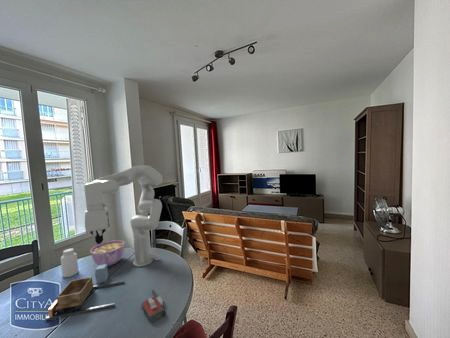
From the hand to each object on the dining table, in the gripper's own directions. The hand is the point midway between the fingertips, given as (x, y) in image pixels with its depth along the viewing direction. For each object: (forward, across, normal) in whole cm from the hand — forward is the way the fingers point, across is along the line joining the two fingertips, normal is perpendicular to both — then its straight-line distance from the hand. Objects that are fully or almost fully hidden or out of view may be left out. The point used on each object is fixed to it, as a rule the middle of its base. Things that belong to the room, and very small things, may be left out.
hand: (99, 242), depth 101 cm
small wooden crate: (+27, +12, +2) cm, 29 cm away
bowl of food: (+27, +7, -34) cm, 44 cm away
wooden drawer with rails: (+27, +6, +2) cm, 28 cm away
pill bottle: (+27, +27, -28) cm, 47 cm away
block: (+27, +5, -14) cm, 31 cm away
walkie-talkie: (+27, -25, +18) cm, 41 cm away
